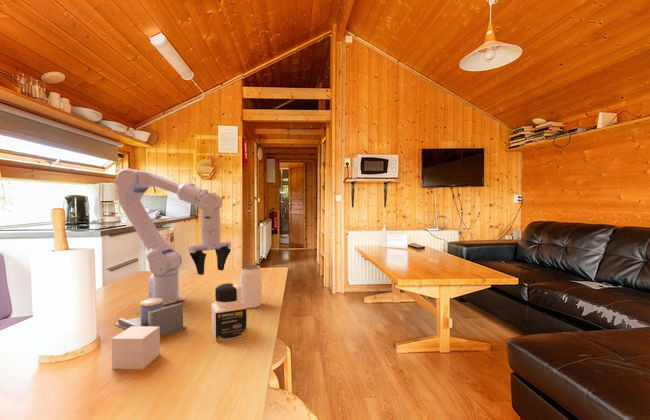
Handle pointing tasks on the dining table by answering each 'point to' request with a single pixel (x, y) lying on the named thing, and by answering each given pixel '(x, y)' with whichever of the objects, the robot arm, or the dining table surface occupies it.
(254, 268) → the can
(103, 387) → the dining table surface
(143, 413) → the dining table surface
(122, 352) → the pale pink cube
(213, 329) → the medicine bottle
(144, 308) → the jar
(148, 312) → the plate
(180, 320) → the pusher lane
